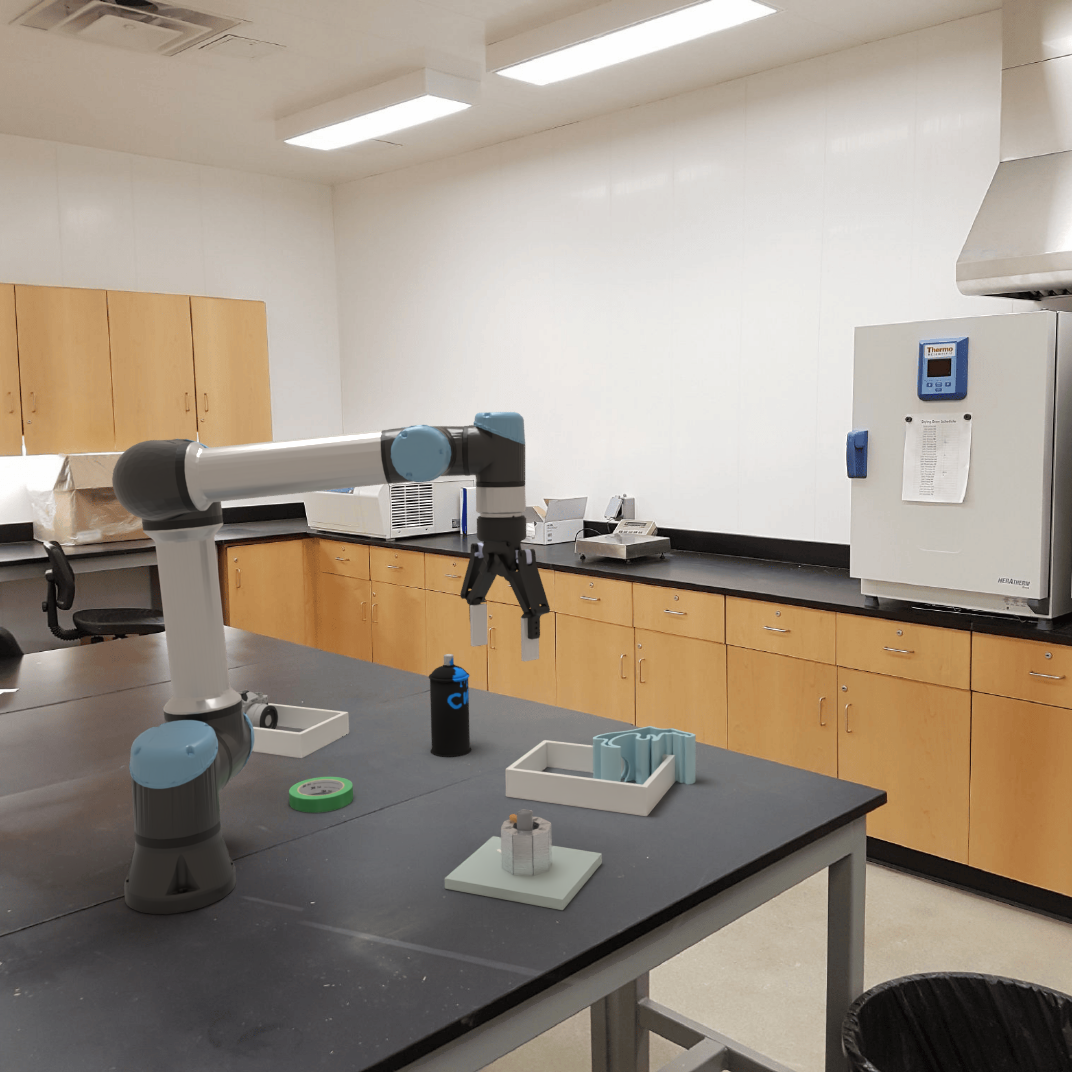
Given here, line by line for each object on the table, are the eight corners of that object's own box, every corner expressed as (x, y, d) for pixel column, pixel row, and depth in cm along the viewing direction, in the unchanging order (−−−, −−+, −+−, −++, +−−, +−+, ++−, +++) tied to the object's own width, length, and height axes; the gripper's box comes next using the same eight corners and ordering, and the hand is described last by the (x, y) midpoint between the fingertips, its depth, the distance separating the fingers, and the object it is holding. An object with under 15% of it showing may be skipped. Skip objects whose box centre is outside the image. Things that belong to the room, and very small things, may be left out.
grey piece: (560, 866, 146) (560, 823, 145) (521, 880, 142) (520, 835, 141) (531, 851, 151) (530, 808, 151) (493, 863, 147) (492, 820, 147)
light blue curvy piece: (665, 769, 193) (665, 722, 192) (697, 785, 184) (697, 735, 183) (585, 786, 184) (585, 737, 183) (615, 803, 175) (615, 751, 174)
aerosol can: (422, 754, 202) (419, 657, 200) (444, 743, 210) (442, 649, 207) (457, 760, 198) (454, 661, 196) (478, 748, 206) (476, 652, 204)
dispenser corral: (646, 816, 168) (646, 787, 168) (505, 796, 178) (505, 769, 178) (675, 781, 185) (675, 755, 184) (544, 765, 195) (544, 740, 194)
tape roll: (290, 816, 171) (289, 801, 171) (288, 794, 182) (288, 780, 182) (356, 809, 174) (355, 794, 174) (350, 787, 185) (349, 773, 185)
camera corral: (301, 758, 201) (300, 734, 200) (206, 745, 210) (205, 722, 210) (349, 734, 216) (348, 712, 216) (258, 723, 226) (257, 702, 225)
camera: (247, 750, 207) (244, 703, 206) (210, 746, 210) (208, 699, 209) (289, 729, 222) (287, 684, 220) (255, 725, 225) (253, 681, 224)
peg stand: (562, 910, 136) (561, 842, 135) (444, 888, 143) (443, 823, 142) (601, 863, 150) (601, 801, 149) (493, 845, 157) (492, 786, 156)
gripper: (572, 517, 144) (574, 662, 147) (476, 508, 164) (478, 636, 167) (530, 521, 140) (533, 670, 142) (437, 511, 160) (440, 642, 162)
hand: (503, 652), depth 154 cm, fingers open, 13 cm apart
